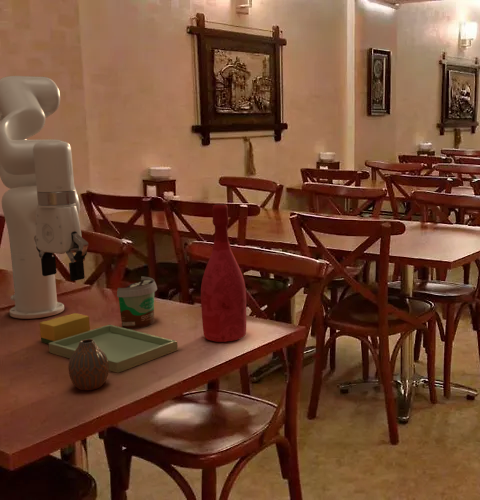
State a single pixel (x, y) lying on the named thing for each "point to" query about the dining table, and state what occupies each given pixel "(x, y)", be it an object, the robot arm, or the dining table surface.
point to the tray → (118, 346)
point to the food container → (137, 303)
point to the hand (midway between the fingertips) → (63, 277)
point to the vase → (88, 366)
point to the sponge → (63, 327)
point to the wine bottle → (223, 287)
